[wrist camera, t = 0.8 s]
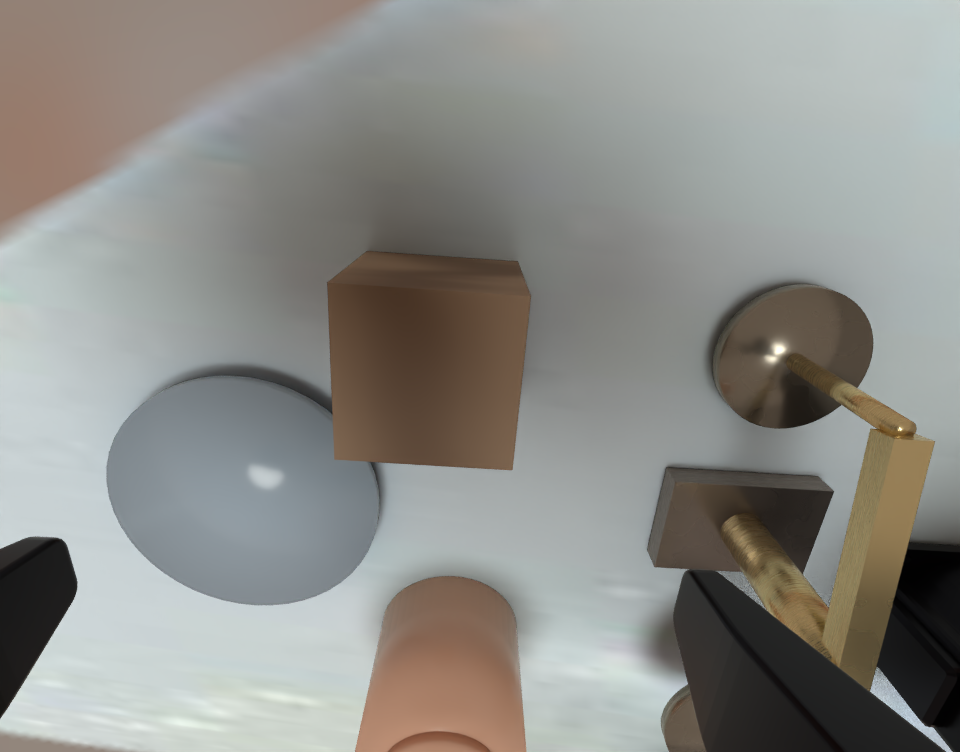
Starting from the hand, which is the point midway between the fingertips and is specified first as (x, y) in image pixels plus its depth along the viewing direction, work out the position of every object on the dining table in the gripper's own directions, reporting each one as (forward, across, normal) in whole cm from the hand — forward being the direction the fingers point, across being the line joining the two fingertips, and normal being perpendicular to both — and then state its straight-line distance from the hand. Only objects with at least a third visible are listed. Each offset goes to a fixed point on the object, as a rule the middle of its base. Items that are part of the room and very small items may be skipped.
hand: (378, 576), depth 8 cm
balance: (+12, -12, +7) cm, 18 cm away
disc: (+12, +7, +7) cm, 15 cm away
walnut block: (+12, 0, 0) cm, 12 cm away
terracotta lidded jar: (+12, -1, +14) cm, 18 cm away
